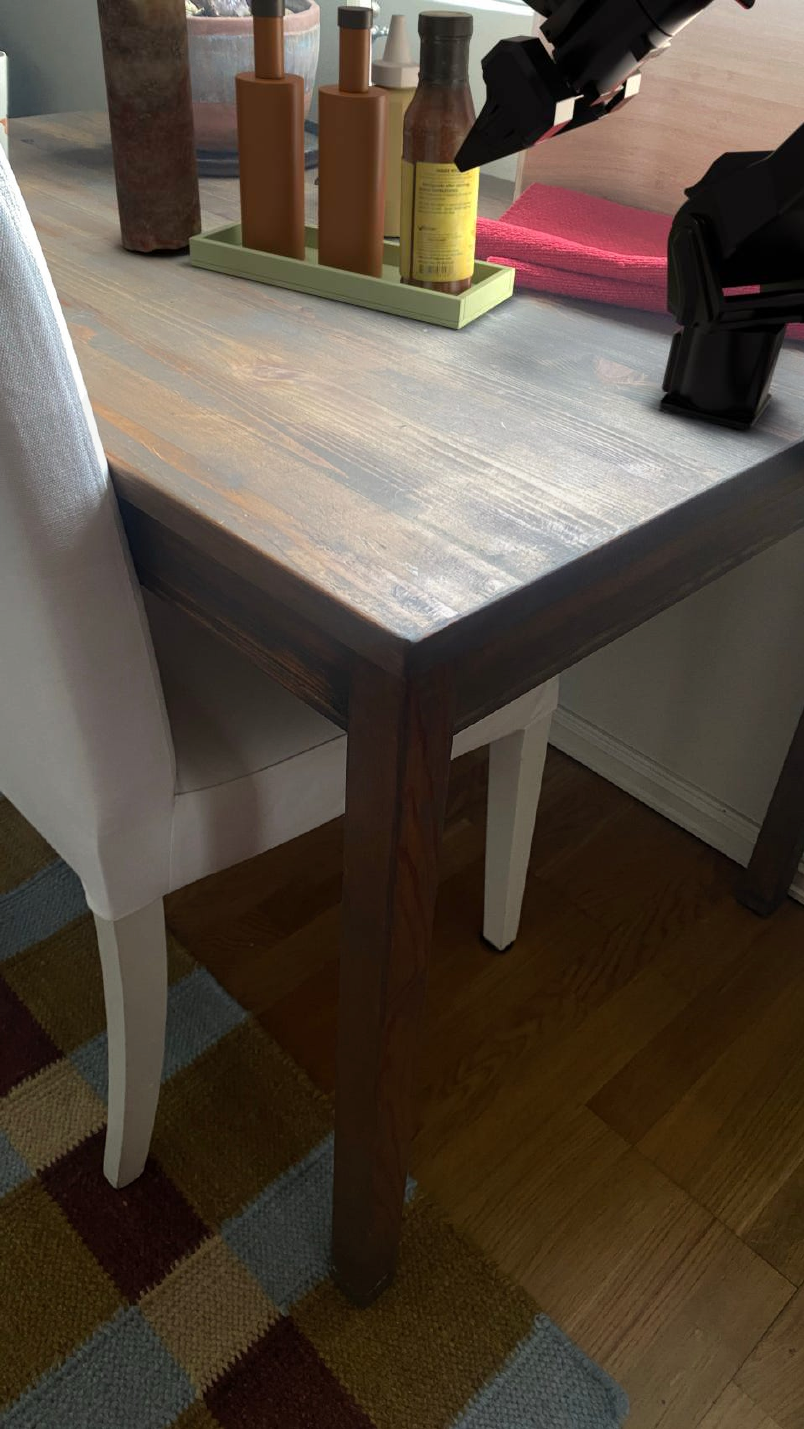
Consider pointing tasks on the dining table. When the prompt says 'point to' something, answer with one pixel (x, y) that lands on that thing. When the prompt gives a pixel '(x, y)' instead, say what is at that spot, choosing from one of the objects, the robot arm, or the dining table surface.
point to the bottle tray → (353, 283)
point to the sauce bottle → (439, 161)
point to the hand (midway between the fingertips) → (483, 156)
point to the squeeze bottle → (395, 111)
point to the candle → (151, 121)
